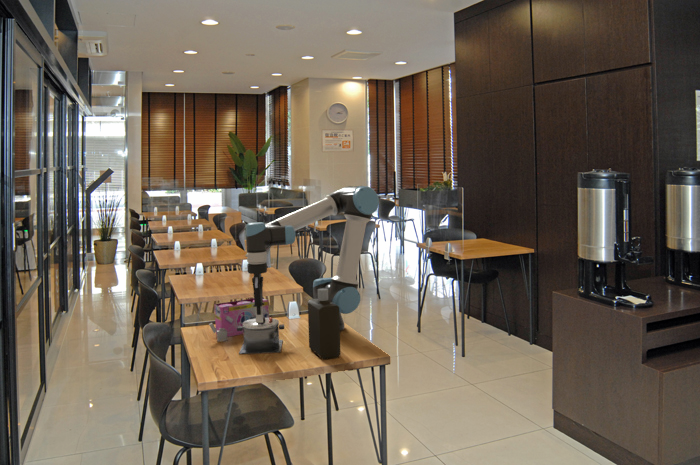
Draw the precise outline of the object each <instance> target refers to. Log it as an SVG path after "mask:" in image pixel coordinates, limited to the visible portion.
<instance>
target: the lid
mask: <svg viewBox="0 0 700 465" xmlns="http://www.w3.org/2000/svg"><path fill="white" fill-rule="evenodd" d="M279 325H280V321H279V319H277V318H274V317H269V318H265V317H264V316H263V323H256V318H255V319H250V320H247V321H244V322H243V327H244V328H246V329H251V330H263V329H270V328H274V327H276V326H279Z"/></svg>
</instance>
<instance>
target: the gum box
mask: <svg viewBox="0 0 700 465" xmlns="http://www.w3.org/2000/svg"><path fill="white" fill-rule="evenodd" d="M262 303H264V305H263V316H264V317H265V318H270V312H269V310H270V308H269V299H265V298H264V297H263V302H262ZM254 304H255V302H254V297H252V298H245V299H239V300H235V301H227V302H226V301H225V302H220V303H214V320H215V323H214V324H215V328H216V330H217V331H218V330H220V329H219V328H225V330H227V338H228V337H233V336H240V335H243V330H242V331H237V327H238V326H243V322H244V321H247V320H250V319H255V318H256V313H255V307H253V305H254ZM215 335H217V332H215Z"/></svg>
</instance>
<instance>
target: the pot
mask: <svg viewBox="0 0 700 465" xmlns="http://www.w3.org/2000/svg"><path fill="white" fill-rule="evenodd" d="M242 330H243V334H242V336H243V343H242V345H241V347H240V350H239V353H238V354H239V355H253V354H254V355H256V354H277V353H279V354H280V353H281V352H282V347H283V346H282V345H283V342H284V339H280V335H279V334H280V332H279V330H285V324H279V325H278V326H276V327H274V328H270V329H263V330H251V329H246V328H244V327H243V326H238V327H237V331H242Z"/></svg>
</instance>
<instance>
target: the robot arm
mask: <svg viewBox="0 0 700 465" xmlns="http://www.w3.org/2000/svg"><path fill="white" fill-rule="evenodd" d="M379 199H380V198H379V195H378V193H377V191H375V190H374V188H372V187H371V186H370V187H369V186H365V185H347V186H344V187H342V188H340V189H338V190H336V191H333V192H330V193H329V194H326V195H325V197H324V198H323V199H322V200H319V201H316V202H314V203H312V204H309V205H307V206H305V207H302V208H300V209H298V210H296V211H295V210H294V211H293V212H291V213H288V214H286V215H284V216H282V217H279V218H277V219H275V220H273V221H270V222H268V223H267V222H262V221H261V222H248V223H247V224H246V226H245V243H246V254H245V255H244V256H245V257H246V259H247V260H246V261H247V264H246V266H247V274H250V275H253V276H252V277H251V278H252V279H251V282H252V290H253V298H254V302H255V304H254V305H253V307H255V313H256V323H263V305H264V303H262V302H263V298H264V296H263V288H264V283H263V282H264V276H262V274H266V273H267V272H268V264H267V261H268V257H267V256H268V255H267V254H268V253H267V247H274V246H287V245H292V244H295V241H296V236H297V235H296V231H297V230H300V229H302V228H305V227H306V226H309V225H311V224H313V223H316V222H318V221H321V220H322V219H324V218H327V217H329V216H337V215H339V214H343V217H344V218H345V219H346V220H345V226H344V231H343V237H342V242H341V247H340V252H339V255H338V256H339V258H338V261H337V262H338V263H337V266H336V274H335V275H334V276H333V277H321V278H317V279H314V280H313V285H312V290H313V291H312V294H313V299H318V289H322V288H324V289H328V300H329V301H331V302H332V303H334V304H336V305H337V306H338V307H339V316H340V332H342V331H344V329H345V322H344V321H345V320H344V319H343V317H342V314H344V315H348V314H351V313H353V312H354V311H356V310H357V309H358V308H359V305H360V303H361V293H360V292H359V290H358V289H359V288H358V287H359V282H358V280H357V273H358V269H359V265H360V264H359V263H360V259H361V254H362V248H363V242H364V237H365V232H366V227H367V224H368V222H370V221H371V220H372V215H373V214H374V213H375V212H377V210H378V207H379V204H380V200H379Z"/></svg>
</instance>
